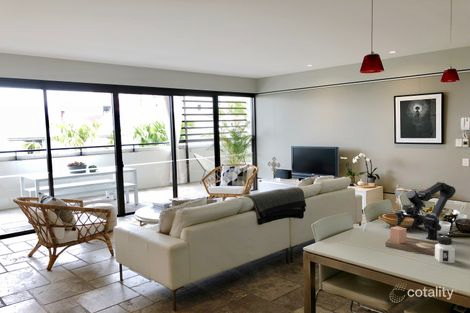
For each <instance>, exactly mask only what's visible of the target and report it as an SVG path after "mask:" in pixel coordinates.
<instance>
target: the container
mask: <svg viewBox="0 0 470 313" xmlns="http://www.w3.org/2000/svg"><path fill="white" fill-rule="evenodd" d="M437 237H438V240H437V242H438V244H435V256H434V258H435V259H436V261H438V263H447V264H448V263H451V264H455V262H456V261H455V260H456V249H455V248H454V247H453V245H452V244H453V239H452V238H451V237H449V236H448V235H447V236H446V235H442V236H437Z"/></svg>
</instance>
